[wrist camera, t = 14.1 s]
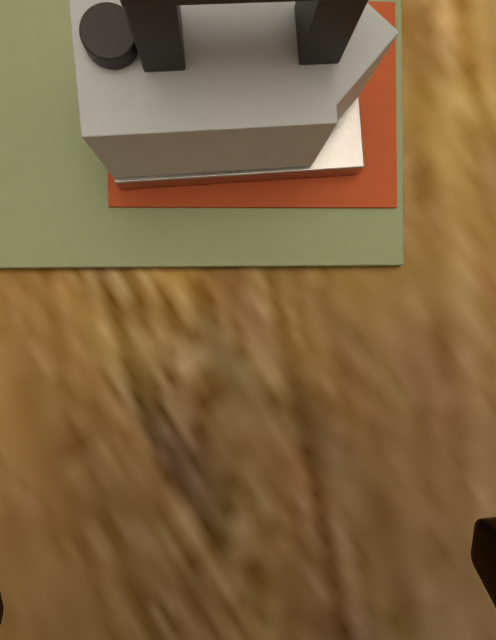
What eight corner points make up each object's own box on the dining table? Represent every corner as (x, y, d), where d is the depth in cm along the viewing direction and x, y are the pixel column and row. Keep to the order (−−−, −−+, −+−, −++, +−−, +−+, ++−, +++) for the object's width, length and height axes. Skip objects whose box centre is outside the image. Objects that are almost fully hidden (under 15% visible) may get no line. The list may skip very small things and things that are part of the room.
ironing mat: (396, -43, 20) (403, -56, 19) (399, 266, 20) (406, 264, 19) (-223, -71, 18) (-241, -87, 17) (-212, 270, 18) (-230, 268, 17)
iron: (120, 190, 18) (-8, 34, 8) (106, 47, 18) (-39, -294, 8) (357, 175, 19) (515, 14, 9) (346, 37, 19) (494, -287, 9)
